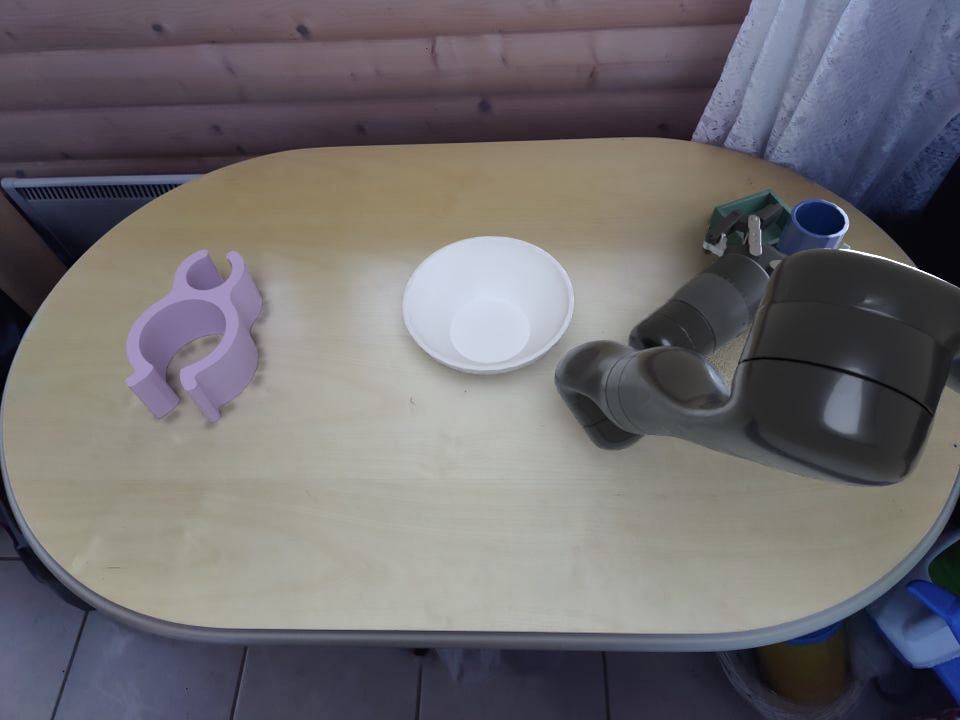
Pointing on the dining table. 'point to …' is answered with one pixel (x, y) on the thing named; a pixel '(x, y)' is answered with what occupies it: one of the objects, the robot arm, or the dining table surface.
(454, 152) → the dining table surface
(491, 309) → the bowl
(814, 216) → the cup
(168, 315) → the clip
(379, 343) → the dining table surface
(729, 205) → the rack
